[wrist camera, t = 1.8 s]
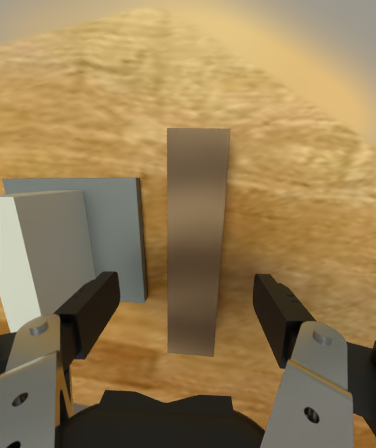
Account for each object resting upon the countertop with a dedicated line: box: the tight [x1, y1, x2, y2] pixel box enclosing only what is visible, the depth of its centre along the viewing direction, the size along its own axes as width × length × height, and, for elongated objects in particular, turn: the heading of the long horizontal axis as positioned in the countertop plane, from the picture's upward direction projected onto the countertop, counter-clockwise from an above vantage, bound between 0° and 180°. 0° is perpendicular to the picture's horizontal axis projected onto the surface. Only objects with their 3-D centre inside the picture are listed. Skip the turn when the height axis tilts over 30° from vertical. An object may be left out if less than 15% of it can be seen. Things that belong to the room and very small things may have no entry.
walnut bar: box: [167, 128, 230, 357], centre depth 16 cm, size 18×4×4 cm, turn 178°
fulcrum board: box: [0, 178, 148, 333], centre depth 15 cm, size 12×12×7 cm
